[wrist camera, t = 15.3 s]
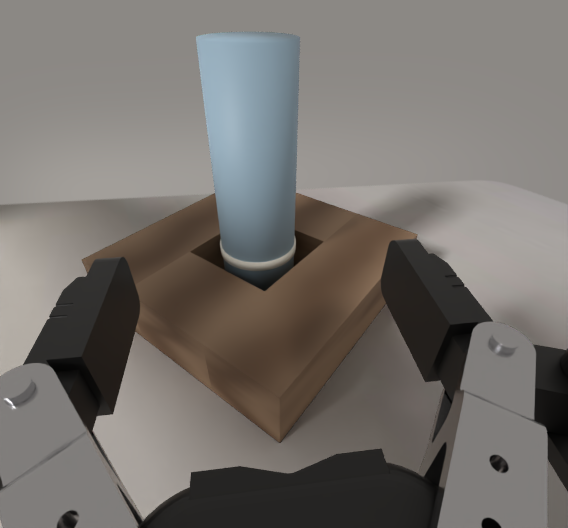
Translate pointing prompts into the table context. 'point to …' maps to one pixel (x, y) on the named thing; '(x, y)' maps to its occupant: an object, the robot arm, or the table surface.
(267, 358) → the socket block
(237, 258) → the peg
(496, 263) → the table surface
